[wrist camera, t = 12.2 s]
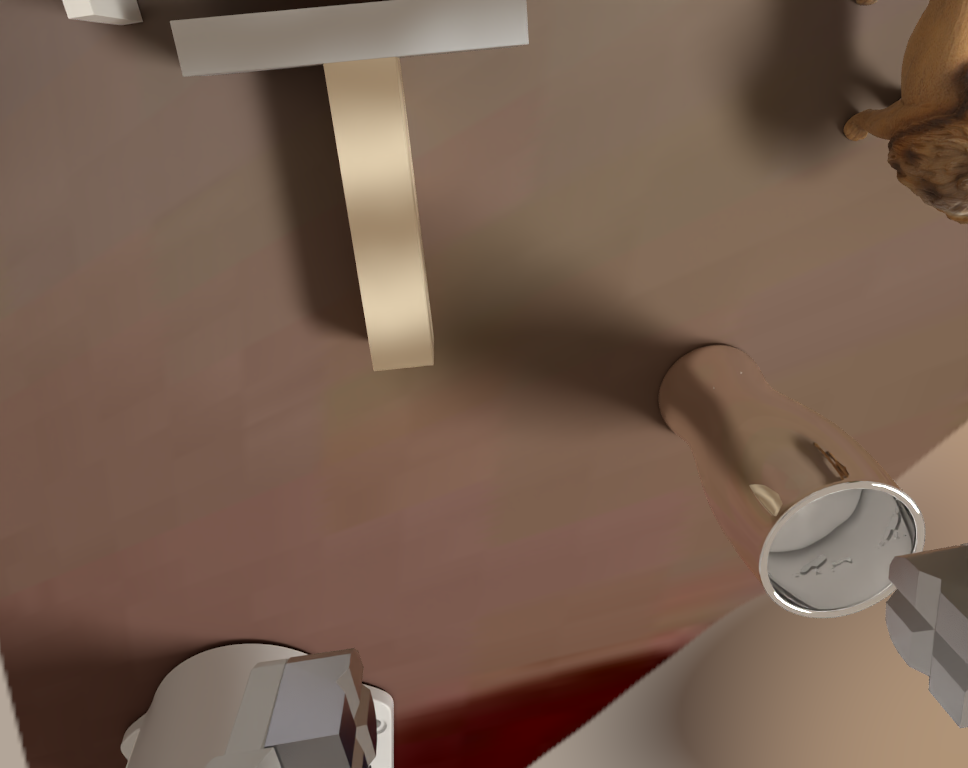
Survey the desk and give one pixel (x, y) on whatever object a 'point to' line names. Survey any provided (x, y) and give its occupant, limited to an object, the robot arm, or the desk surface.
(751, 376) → the beer glass
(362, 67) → the scraper
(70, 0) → the box
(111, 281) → the desk surface
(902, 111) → the lion figurine
